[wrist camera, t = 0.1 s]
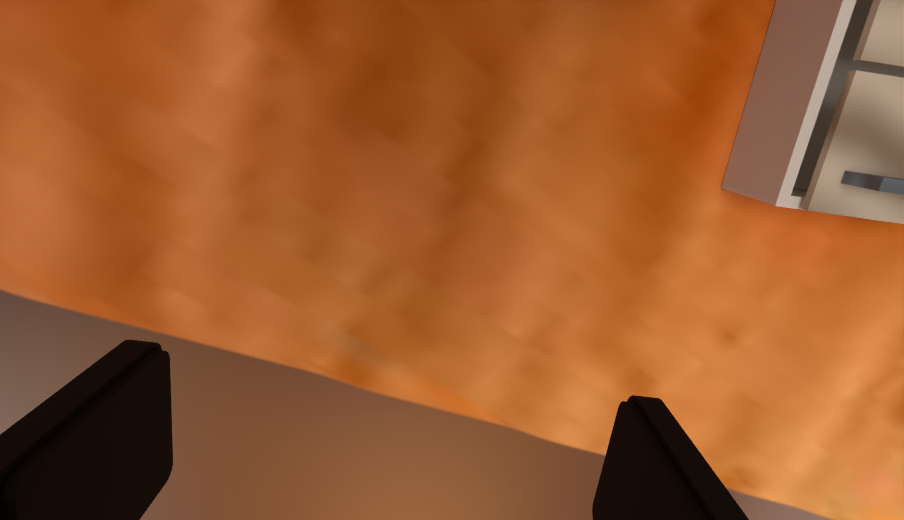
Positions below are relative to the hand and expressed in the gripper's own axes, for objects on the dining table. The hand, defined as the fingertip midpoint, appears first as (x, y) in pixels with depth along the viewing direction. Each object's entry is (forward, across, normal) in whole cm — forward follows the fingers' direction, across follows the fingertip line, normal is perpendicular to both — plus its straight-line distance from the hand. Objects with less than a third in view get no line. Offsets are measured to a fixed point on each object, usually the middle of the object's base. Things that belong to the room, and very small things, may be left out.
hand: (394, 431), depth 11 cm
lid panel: (+24, -30, -7) cm, 39 cm away
